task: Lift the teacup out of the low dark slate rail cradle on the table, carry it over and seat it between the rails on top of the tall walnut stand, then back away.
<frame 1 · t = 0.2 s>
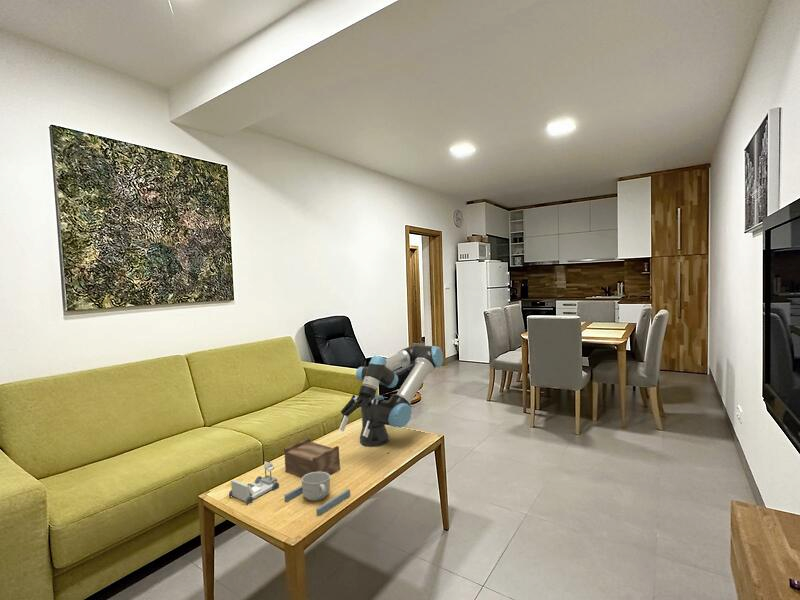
hand: (353, 433, 177), 16 cm above the table, tool tilted 35°, fingers open, 13 cm apart
teacup: (317, 499, 154), on the table
walnut stand: (312, 470, 178), on the table
toy rover: (257, 492, 162), on the table
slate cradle: (317, 498, 154), on the table
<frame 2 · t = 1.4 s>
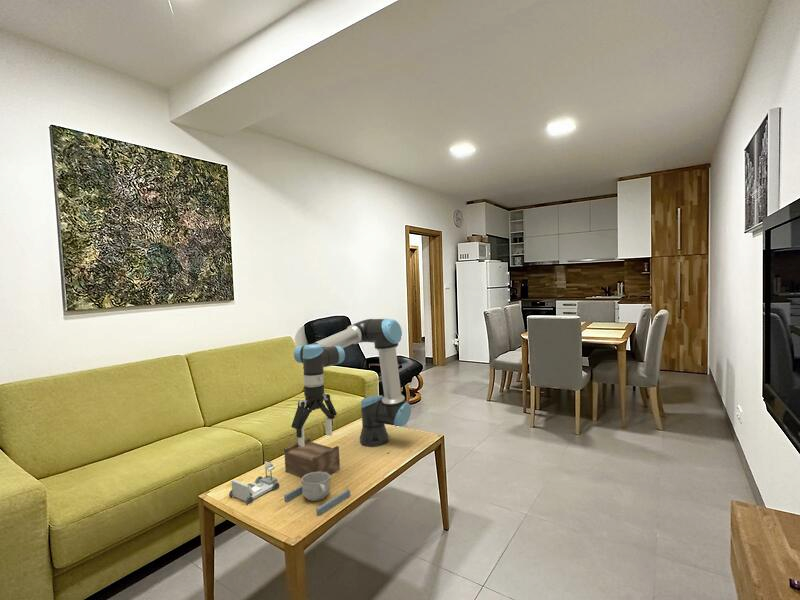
hand: (315, 440, 154), 22 cm above the table, tool pointing down, fingers open, 13 cm apart
nothing on the table moved.
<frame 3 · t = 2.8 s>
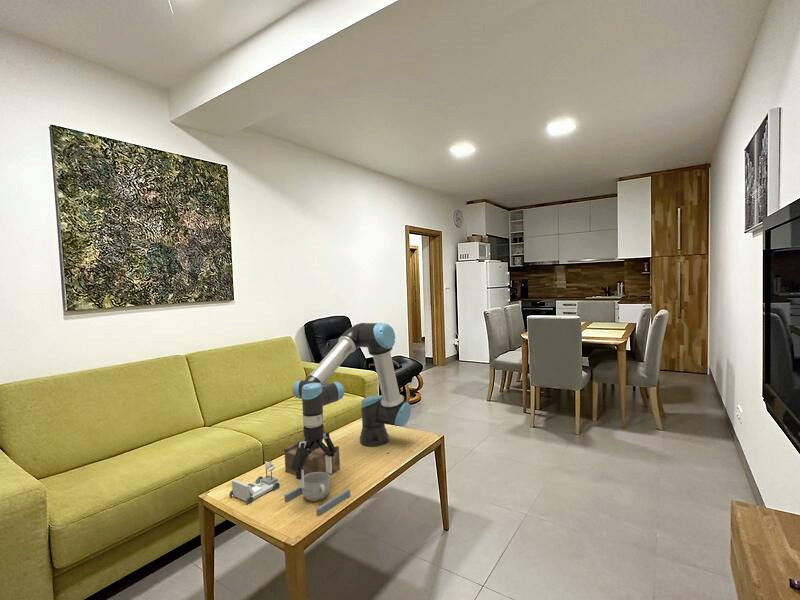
hand: (315, 480, 153), 8 cm above the table, tool pointing down, fingers open, 13 cm apart
teacup: (317, 499, 154), on the table, touching gripper
everything else where it was.
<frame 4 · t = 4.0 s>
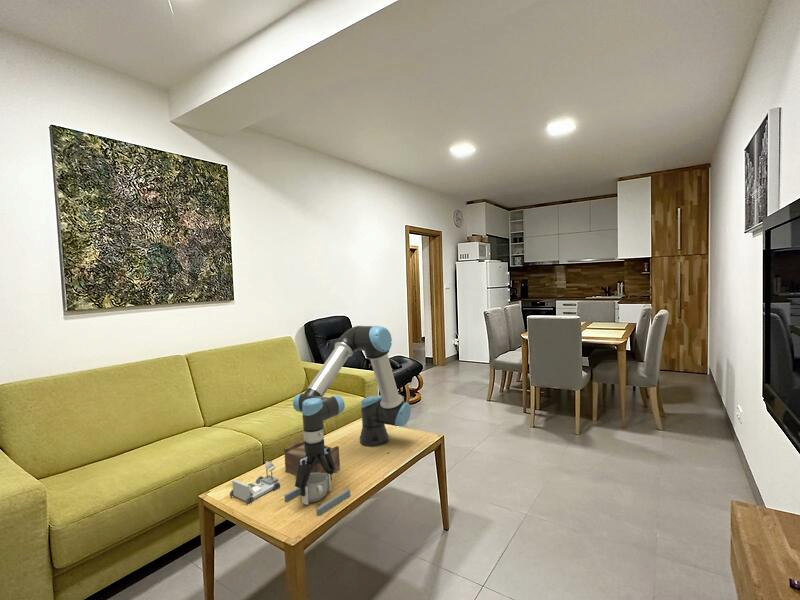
hand: (317, 496, 154), 1 cm above the table, tool pointing down, fingers closed on teacup, 11 cm apart
teacup: (315, 500, 153), on the table, touching gripper
everything else where it was.
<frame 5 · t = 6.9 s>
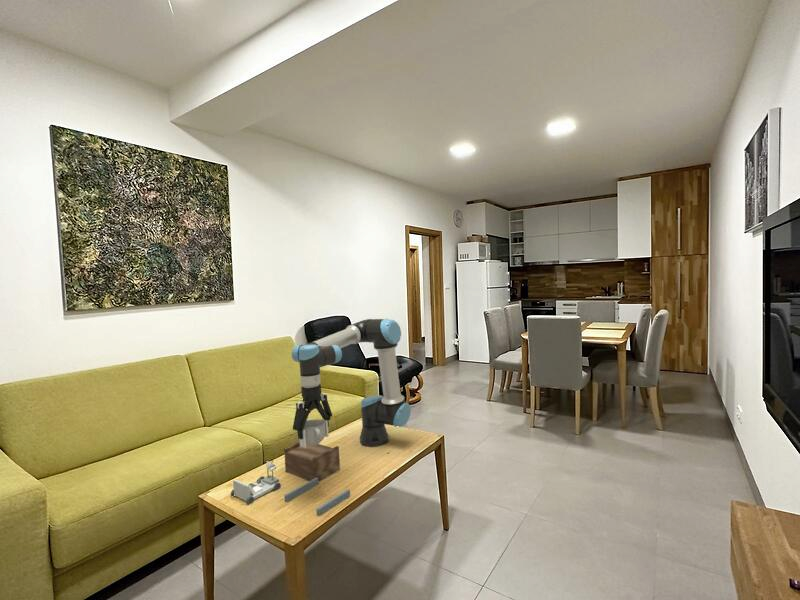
hand: (314, 441, 156), 21 cm above the table, tool pointing down, fingers closed on teacup, 11 cm apart
teacup: (313, 444, 155), point 20 cm above the table, touching gripper
everything else where it was.
when the fingers open (11 cm above the table, at t = 10.3 s): teacup drops 1 cm, resting on walnut stand.
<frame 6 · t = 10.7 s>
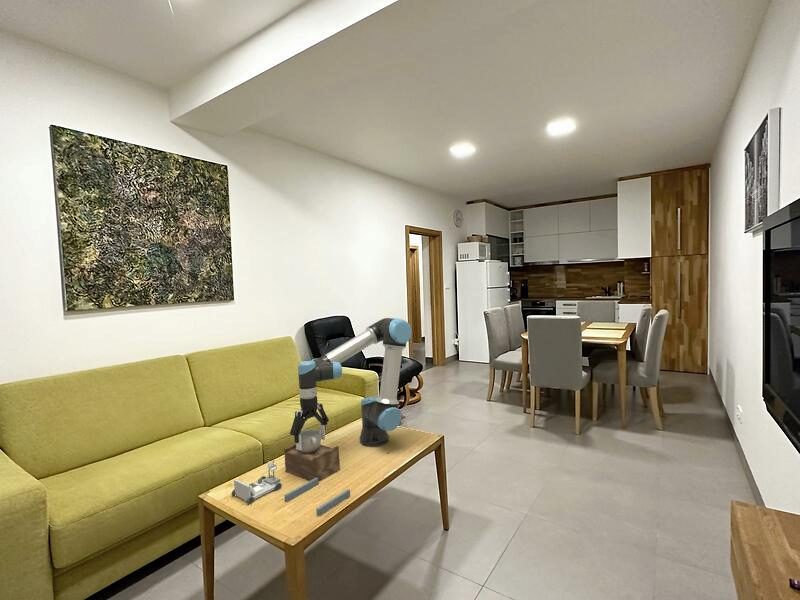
hand: (311, 444, 177), 12 cm above the table, tool pointing down, fingers open, 13 cm apart
teacup: (310, 451, 177), point 9 cm above the table, touching walnut stand
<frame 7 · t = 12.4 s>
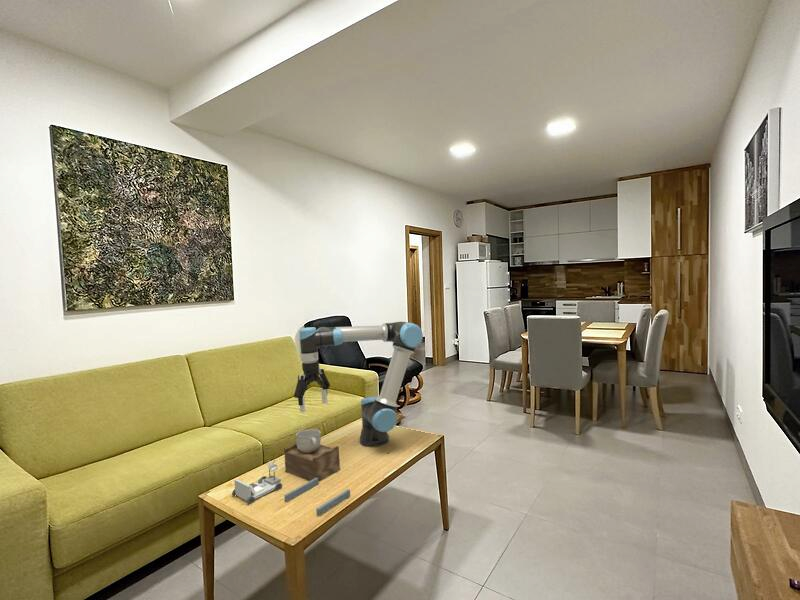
hand: (314, 407, 183), 26 cm above the table, tool pointing down, fingers open, 13 cm apart
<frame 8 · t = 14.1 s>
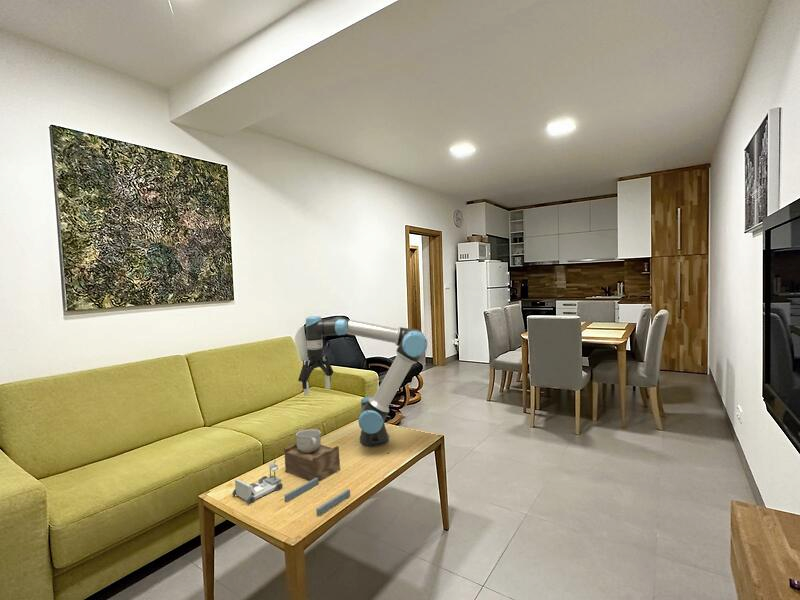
hand: (317, 392, 194), 31 cm above the table, tool pointing down, fingers open, 13 cm apart
at the end: teacup inside the target area on the walnut stand (0.8 cm from its centre), point 8.8 cm above the walnut stand's base; teacup tilted 0°; the gripper is holding nothing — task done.
